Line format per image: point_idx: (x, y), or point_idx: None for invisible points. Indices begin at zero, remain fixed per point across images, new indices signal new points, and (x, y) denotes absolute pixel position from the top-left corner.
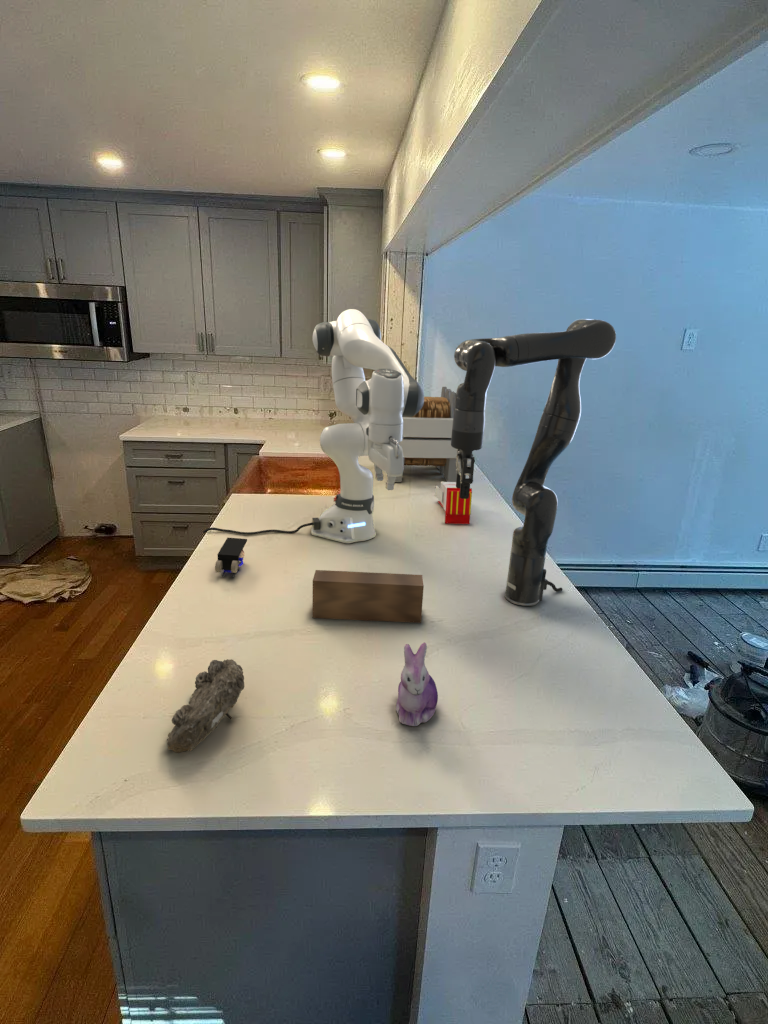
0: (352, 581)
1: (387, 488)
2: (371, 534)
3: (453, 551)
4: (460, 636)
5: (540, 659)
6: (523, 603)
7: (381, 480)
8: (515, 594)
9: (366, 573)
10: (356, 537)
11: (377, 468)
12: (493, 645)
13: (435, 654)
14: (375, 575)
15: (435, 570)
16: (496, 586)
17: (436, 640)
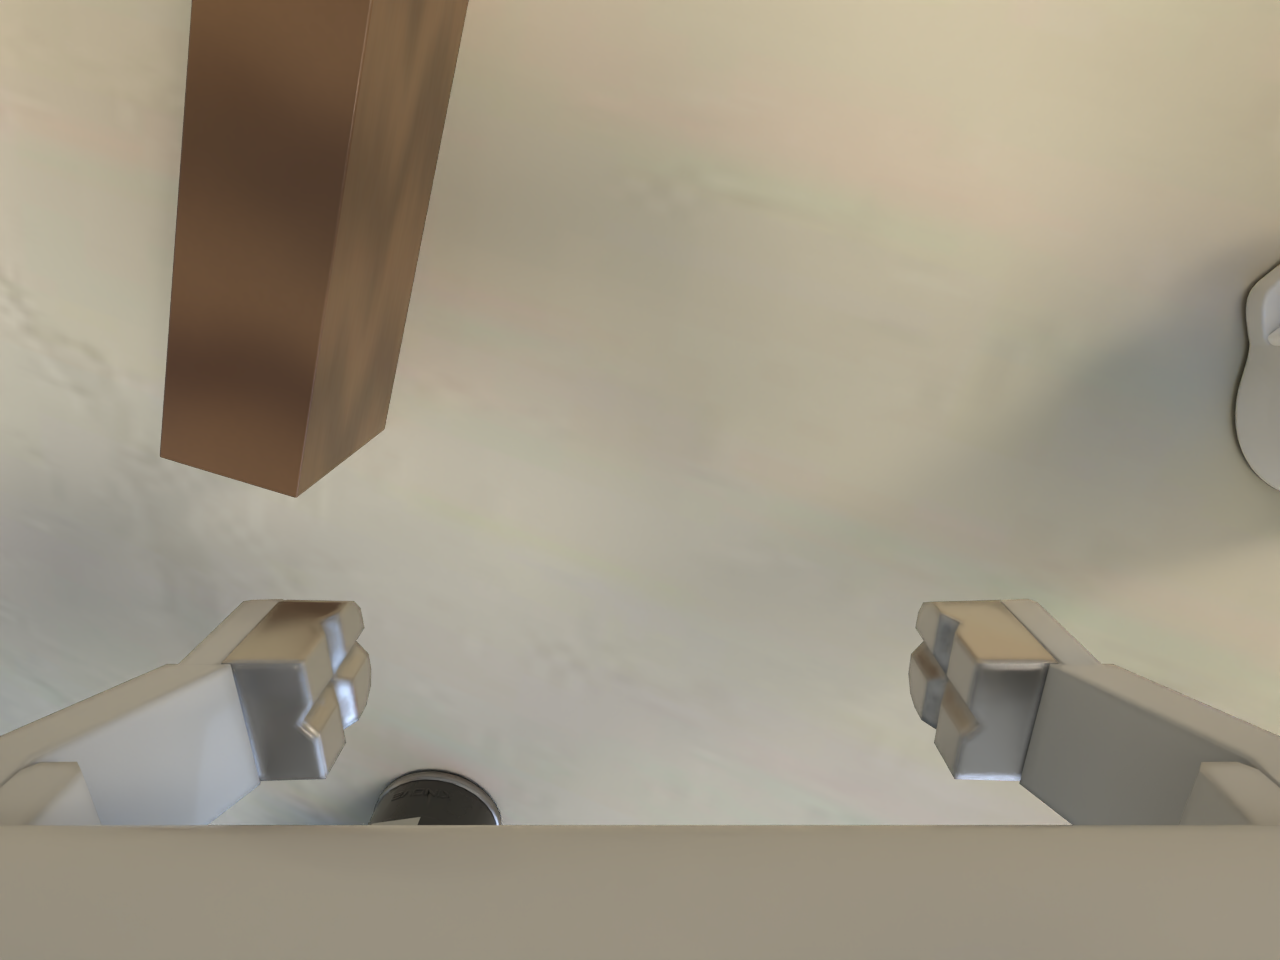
0: (206, 14)
1: (237, 609)
2: (1270, 462)
3: (911, 769)
4: (177, 509)
5: (42, 690)
6: (377, 805)
7: (909, 668)
8: (384, 810)
9: (326, 157)
10: (1272, 358)
11: (1185, 788)
12: (119, 593)
13: (44, 368)
14: (295, 213)
15: (746, 628)
16: (547, 783)
17: (146, 410)
